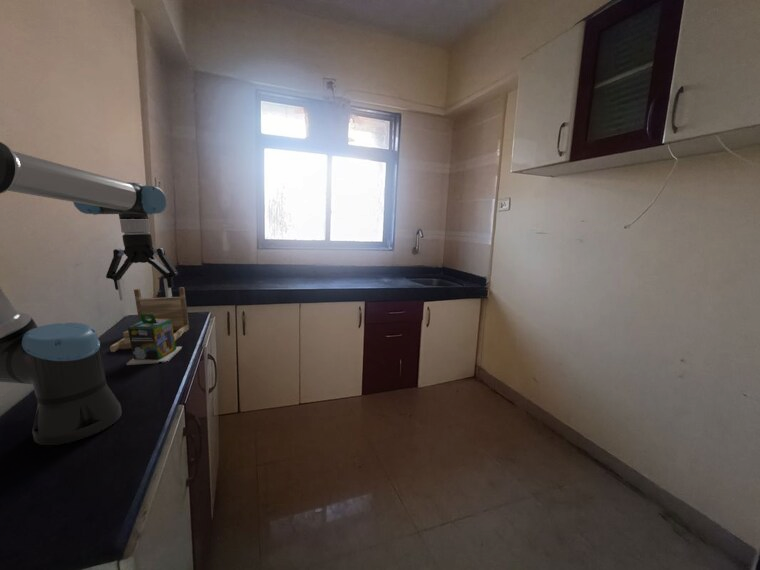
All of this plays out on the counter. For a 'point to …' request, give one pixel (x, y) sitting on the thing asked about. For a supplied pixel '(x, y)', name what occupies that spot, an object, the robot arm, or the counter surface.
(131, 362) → the felt mat
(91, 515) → the counter surface
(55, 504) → the counter surface
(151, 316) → the chalk box
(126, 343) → the offcut stack
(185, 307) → the rack
